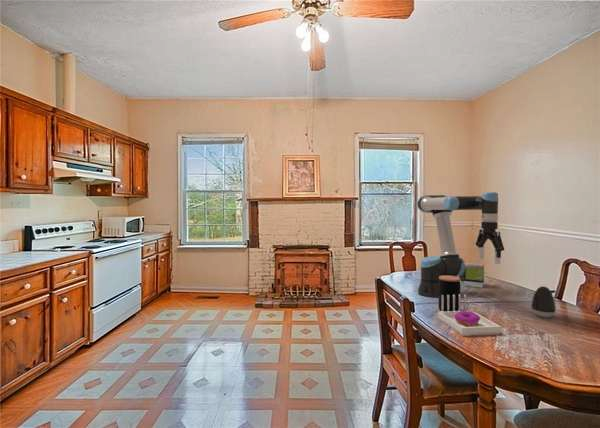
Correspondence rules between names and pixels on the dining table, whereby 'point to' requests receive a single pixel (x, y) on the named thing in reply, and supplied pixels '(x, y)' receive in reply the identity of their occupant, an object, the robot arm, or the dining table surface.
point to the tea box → (473, 275)
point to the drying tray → (479, 329)
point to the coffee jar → (449, 291)
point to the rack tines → (453, 303)
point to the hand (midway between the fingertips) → (488, 261)
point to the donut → (467, 318)
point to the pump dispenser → (543, 302)
